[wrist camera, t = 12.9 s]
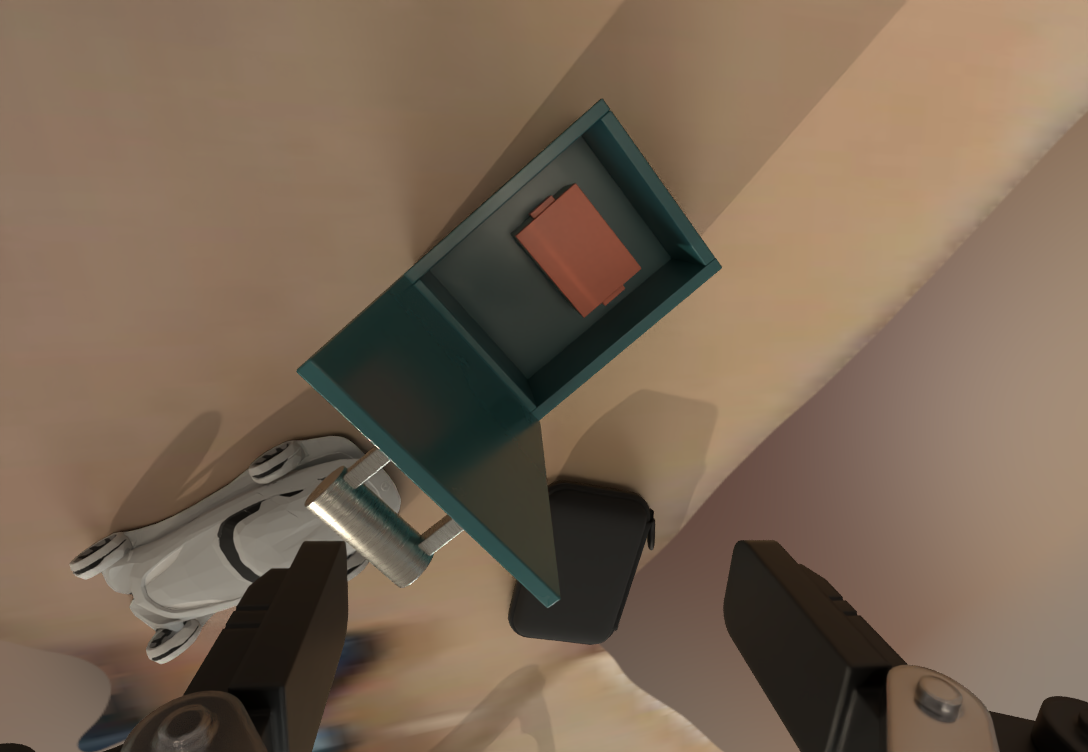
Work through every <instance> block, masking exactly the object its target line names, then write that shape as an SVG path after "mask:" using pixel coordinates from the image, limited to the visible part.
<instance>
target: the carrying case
mask: <svg viewBox="0 0 1088 752" xmlns="http://www.w3.org/2000/svg"><path fill="white" fill-rule="evenodd" d="M548 494H549V502H550V511H551V519H552V528H553V536H554V545H555V553H556V562H557V570H558V579H559V587H560V596H561V599H560V600H559V601H558V602H556V603H555V604H553V605H552V606H551V607H549V608H547V607H546V606H544V605H543V604H542V603H541V602H540V601H539V600H538V599H537V598H536V597H535V596H534V595H533V594H532V593H531V592H530V591H529V590H527V589H526V588H525V587H524V586H523V585H522V584H521V583H520V582H519V581H518V580H517V581H516V584H515V588H514V592H513V596H512V600H511V604H510V608H509V613H508V620H509V624H510V626H511V628H512V629H513V630H514V631H515V632H516V633H517V634H519V635H520V636H523V637H528V638H537V639H546V640H555V641H564V642H572V643H580V644H589V645H592V644H599V643H602V642H604V641H606V640H607V639H608V638H609V637H610V636H611V635H612V633H613V632H614V630H615V631H616V630H617V629H618V624H619V621H620V618H621V615H622V612H623V609H624V606H625V603H626V600H627V597H628V594H629V590H630V587H631V584H632V581H633V578H634V575H635V572H636V569H637V566H638V563H639V560H640V557H641V554H642V551H643V548H644V545H645V542H646V538H647V542H648V547H649V549H650V550H653V548H654V543H655V519H654V518H653V515H654V511H653V510H652V509H651V508H649V506H648V504H647V502H646V501H645V500H644V499H643V498H642V497H641V496H640V495H638V494H636V493H634V492H629V491H623V490H617V489H611V488H605V487H600V486H594V485H588V484H582V483H576V482H570V481H557V482H554V483H552V484H550V485H548ZM647 535H648V536H647Z"/></svg>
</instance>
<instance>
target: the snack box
mask: <svg viewBox="0 0 1088 752" xmlns="http://www.w3.org/2000/svg"><path fill="white" fill-rule="evenodd" d="M529 216H530V217H529V218H528V219H527V220H526V221H525V222H523V223H522V224H521V225H520V226H519V227H518V228H517V229H516V230H515V231H513V232H512V233H511V235H512V236H513V237H514V238H515V239H516V240H517V242H518V243H519V244H520V245H521V246H522V248H523V249H524V250H525V251H526V252H527V254H528V255H529V256H530V257H531V258H532V260H533V261H534V262H535V263H536V264H537V265H538V267H539V268H540V269H541V270H542V271H543V273H544V274H545V275H546V276H547V277H548V279H549V280H550V281H551V282H552V283H553V285H554V286H555V287H556V288H557V289H558V290H559V292H560V293H561V294H562V295H563V296H564V298H565V299H566V300H567V301H568V302H569V304H570V305H571V306H572V307H573V308H574V309H575V310H576V311H577V312H578V313H579V314H580V315H581V316H582V317H584V318H585V317H586V316H587V315H588V314H589V313H591V312H592V311H593V310H594V309H595V308H596V307H598V306H599V305H600V304H601V303H602V304H603V305H604V306H606V305H607V304H608V303H609V302H610V301H612V300H613V299H614V298H615V297H616V296H617V295H619V294H620V293H621V292H622V291H623V290H624V289H625V287H624V286H623V284H624V283H626V282H627V281H628V280H629V279H630V278H631V277H632V276H634V275H635V274H636V273H637V272H638V271H639V270H641V267H640V265H639V264H638V263H637V262H636V260H635V259H634V258H633V256H632V255H631V254H630V253H629V251H628V250H627V249H626V247H625V246H624V245H623V243H622V242H621V241H620V240H619V238H618V237H617V236H616V234H615V233H614V232H613V230H612V229H611V228H610V227H609V225H608V224H607V223H606V221H605V220H604V219H603V218H602V216H601V215H600V214H599V212H598V211H597V210H596V208H595V207H594V206H593V205H592V203H591V202H590V201H589V199H588V198H587V197H586V196H585V194H584V193H583V192H582V190H581V189H580V188H579V186H578V185H577V184H576V183H574V184H571V185H567V186H564V187H563V188H562V189H561V190H559V191H558V192H557V193H556V194H555V195H554V196H552V195H551V196H548V197H547V198H546V199H545V200H544V201H542V202H541V203H540V204H539V205H538V206H537V207H536V208H535V209H533V210H532V211H531V212H530V213H529Z"/></svg>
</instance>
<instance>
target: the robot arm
mask: <svg viewBox="0 0 1088 752" xmlns="http://www.w3.org/2000/svg"><path fill="white" fill-rule="evenodd" d="M723 609H724V610H723V611H724V619H725V624H726V628H727V630H728V633H729V634H730V637H731V638H732V640H733V642H734V643H735V645H736V646H737V648H738V650H739V651H740V653H741V655H742V656H743V658H744V660H745V661H746V663H747V664H748V666H749V668H750V669H751V671H752V673H753V674H754V676H755V678H756V679H757V681H758V682H759V684H760V686H761V687H762V689H763V691H764V692H765V694H766V695H767V697H768V699H769V701H770V702H771V704H772V705H773V707H774V709H775V710H776V712H777V714H778V715H779V717H780V719H781V720H782V722H783V724H784V725H785V727H786V728H787V730H788V732H789V733H790V735H791V736H792V738H793V740H794V742H795V743H796V745H797V746H798V748H799V750H800V751H801V752H1088V703H1087V702H1085V701H1082V700H1078V699H1075V698H1070V697H1062V696H1054V697H1049V698H1047V699H1045V700H1044V701H1043V703H1042V705H1041V708H1040V710H1039V713H1038V716H1037V718H1036V721H1033V720H1028V719H1024V718H1019V717H1014V716H1010V715H1005V714H1000V713H996V712H991V711H988V710H987V708H986V707H985V705H984V704H983V703H982V702H981V700H980V699H978V697H976V695H974V694H973V693H972V692H971V691H970V690H968V689H967V688H966V687H964V686H963V685H961V684H960V683H958V682H957V681H955V680H953V679H951V678H950V677H948V676H946V675H944V674H942V673H939V672H937V671H934V670H931V669H928V668H925V667H920V666H915V665H908V664H907V663H906V662H905V661H904V660H903V659H902V658H901V657H900V656H899V655H898V654H897V653H896V652H895V651H894V650H893V649H892V648H891V647H890V646H889V645H888V644H887V642H885V641H884V640H883V638H882V637H881V636H880V635H879V634H878V633H877V632H876V631H875V630H874V629H873V628H872V627H871V626H870V625H869V624H868V623H867V622H866V621H865V620H864V619H863V618H862V617H861V616H858V615H857V611H856V610H855V609H854V608H853V607H852V606H851V605H850V604H849V603H848V602H847V601H843V597H842V596H841V595H840V594H839V593H838V592H837V591H836V590H835V589H834V588H833V587H832V586H831V584H829V582H828V581H827V580H825V579H824V578H823V577H821V576H820V575H818V574H816V573H815V572H813V571H812V570H810V569H809V568H807V567H805V566H804V565H802V564H798V563H797V562H796V561H795V560H794V559H793V558H792V557H791V556H790V555H789V554H788V552H787V551H785V549H784V548H783V547H782V546H781V545H780V544H779V543H778V542H776V541H774V540H741V541H738V542H737V543H736V545H735V547H734V550H733V555H732V560H731V566H730V571H729V577H728V582H727V587H726V593H725V598H724V607H723ZM347 622H348V581H347V549H346V543H345V541H304V542H303V543H302V545H301V547H300V549H299V550H298V552H297V554H296V556H295V558H294V560H293V562H292V564H291V566H290V568H271V569H270V570H268V571H267V572H266V573H265V574H263V575H262V576H261V577H260V578H258V579H257V580H256V581H255V582H253V583H252V584H251V585H250V586H249V587H248V588H247V590H246V592H245V593H244V595H243V597H242V598H241V600H240V602H239V603H238V605H237V607H236V611H233V613H232V615H231V616H230V618H229V620H228V621H227V623H226V627H225V629H223V630H222V631H221V633H220V635H219V636H218V638H217V640H216V641H215V643H214V645H213V646H212V648H211V650H210V651H209V653H208V655H207V656H206V658H205V660H204V661H203V663H202V665H201V666H200V668H199V670H198V671H197V673H196V675H195V676H194V678H193V680H192V681H191V683H190V685H189V686H188V688H187V690H186V691H185V693H184V695H183V696H181V697H179V698H176V699H174V700H172V701H170V702H168V703H166V704H164V705H162V706H160V707H159V708H157V709H156V710H154V711H153V712H151V713H150V714H149V715H147V716H146V717H145V718H144V719H143V720H142V721H140V722H139V723H138V724H137V725H136V726H135V728H134V729H133V730H132V731H131V732H130V734H129V735H128V737H127V738H126V740H125V742H124V744H122V745H120V746H117V747H115V748H112V749H109V750H106V751H103V752H312V749H313V746H314V742H315V739H316V736H317V732H318V729H319V726H320V722H321V719H322V715H323V712H324V709H325V705H326V702H327V699H328V695H329V692H330V689H331V685H332V682H333V679H334V675H335V672H336V669H337V665H338V662H339V659H340V655H341V652H342V649H343V645H344V641H345V636H346V630H347ZM0 752H35V751H34V750H33V749H31V748H30V747H28V746H25V745H22V744H15V743H10V744H9V743H6V744H0Z"/></svg>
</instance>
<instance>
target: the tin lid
mask: <svg viewBox="0 0 1088 752" xmlns="http://www.w3.org/2000/svg"><path fill="white" fill-rule="evenodd" d="M297 373H298V374H299V375H300V376H301V377H302V378H303V379H304V380H305V381H306V382H308V383H309V384H310V385H311V386H312V387H313V388H314V389H315V390H316V391H317V392H318V393H319V394H320V395H321V396H322V397H323V398H325V399H326V400H327V401H328V402H329V403H330V404H331V405H332V406H333V407H334V408H335V409H336V410H337V411H338V412H339V413H340V414H342V415H343V416H344V417H345V418H346V419H347V420H348V421H349V422H350V423H351V424H352V425H353V426H354V427H355V428H356V429H357V430H359V431H360V432H361V433H362V434H363V435H364V436H365V437H366V438H367V439H368V440H369V441H370V442H371V443H372V444H373V445H374V446H375V447H373V448H372V449H371V450H370V451H369V452H367V453H366V454H365V455H364V456H363V457H361V458H360V459H359V460H358V461H356V462H355V463H354V464H353V465H352V466H350V467H349V468H348V469H347V468H346V467H345V466H341V467H339V468H337V469H336V470H334V471H333V472H332V473H331V474H330V475H328V476H327V477H326V478H325V479H324V480H323V481H322V482H321V483H320V484H319V485H318V486H317V487H316V488H315V489H314V491H313V492H312V493H311V494H310V495H309V497H308V498H307V500H306V501H305V504H304V506H305V507H306V508H307V509H308V510H309V511H311V512H312V513H313V514H314V515H315V516H316V517H318V518H319V519H320V520H321V521H322V522H323V523H325V524H326V525H327V526H328V527H329V528H330V529H332V530H333V531H334V532H335V533H336V534H337V535H339V536H340V537H341V538H342V539H343V540H344V541H346V542H347V543H348V544H349V545H350V546H351V547H353V548H354V549H355V550H356V551H357V552H358V553H360V554H361V555H362V556H363V557H364V558H365V559H367V560H368V561H369V562H370V563H371V564H372V565H374V566H375V567H376V568H377V569H378V570H379V571H381V572H382V573H383V574H384V575H385V576H386V577H388V578H389V579H390V580H391V581H392V582H393V583H395V584H396V585H397V586H398V587H400V588H403V587H406V586H408V585H410V584H411V583H413V582H414V581H415V580H416V579H417V578H418V577H419V576H420V575H421V574H422V573H423V572H424V571H425V569H426V568H427V566H428V565H429V563H430V562H431V560H432V558H433V555H434V552H436V551H437V550H438V549H440V548H441V547H442V546H444V545H445V544H446V543H448V542H449V541H450V540H452V539H453V538H454V537H455V536H457V535H458V534H459V533H461V532H462V531H463V530H465V531H466V532H467V533H468V534H469V535H470V536H471V537H472V538H473V539H474V540H475V541H476V542H478V543H479V544H480V545H481V546H482V547H483V548H484V549H485V550H486V551H487V552H488V553H489V554H490V555H491V556H492V557H493V558H495V559H496V560H497V561H498V562H499V563H500V564H501V565H502V566H503V567H504V568H505V569H506V570H507V571H508V572H509V573H510V574H512V575H513V576H514V577H515V578H516V579H517V580H518V581H519V582H520V583H521V584H522V585H523V586H524V587H525V588H526V589H527V590H529V591H530V592H531V593H532V594H533V595H534V596H535V597H536V598H537V599H538V600H539V601H540V602H541V603H542V604H543V605H544V606H546V607H547V608H549V607H551V606H552V605H553V604H555V603H556V602H558V601H559V600H560V599H561V596H560V587H559V579H558V570H557V562H556V553H555V545H554V536H553V528H552V519H551V511H550V502H549V494H548V485H547V477H546V468H545V460H544V451H543V442H542V434H541V425H540V422H539V421H538V420H537V418H536V417H535V416H534V415H533V414H532V413H531V412H530V411H529V410H528V409H527V408H526V407H525V405H524V404H523V403H522V402H521V401H520V400H519V399H518V398H517V397H516V396H515V395H514V394H513V392H512V391H511V390H510V389H509V388H508V387H507V386H506V385H505V384H504V383H503V382H502V381H501V379H500V378H499V377H498V376H497V375H496V374H495V373H494V372H493V371H492V370H491V369H490V368H489V366H488V365H487V364H486V363H485V362H484V361H483V360H482V359H481V358H480V357H479V356H478V354H477V353H476V352H475V351H474V350H473V349H472V348H471V347H470V346H469V345H468V344H467V343H466V341H465V340H464V339H463V338H462V337H461V336H460V335H459V334H458V333H457V332H456V331H455V330H454V328H453V327H452V326H451V325H450V324H449V323H448V322H447V321H446V320H445V319H444V318H443V317H442V315H441V314H440V313H439V312H438V311H437V310H436V309H435V308H434V307H433V306H432V305H431V304H430V302H429V301H428V300H427V299H426V298H425V297H424V296H423V295H422V294H421V293H420V292H419V291H418V289H417V288H416V287H415V286H414V285H413V284H412V283H411V282H410V281H409V280H408V279H407V278H406V276H405V275H402V276H401V277H400V278H399V279H398V280H397V281H395V282H394V283H393V284H392V285H391V286H390V287H389V288H388V289H386V290H385V291H384V292H383V293H382V294H381V295H380V296H379V297H377V298H376V299H375V300H374V301H373V302H372V303H371V304H370V305H369V306H367V307H366V308H365V309H364V310H363V311H362V312H361V313H360V314H358V315H357V316H356V317H355V318H354V319H353V320H352V321H351V322H349V323H348V324H347V325H346V326H345V327H344V328H343V329H342V330H340V331H339V332H338V333H337V334H336V335H335V336H334V337H333V338H331V339H330V340H329V341H328V342H327V343H326V344H325V345H324V346H323V347H321V348H320V349H319V350H318V351H317V352H316V353H315V354H314V355H312V356H311V357H310V358H309V359H308V360H307V361H306V362H305V363H303V364H302V365H301V366H300V367H299V368H298V369H297ZM390 461H391V462H393V463H394V464H395V465H396V466H397V467H398V468H399V469H400V470H401V471H402V472H403V473H404V474H405V475H406V476H407V477H408V478H410V479H411V480H412V481H413V482H414V483H415V484H416V485H417V486H418V487H419V488H420V489H421V490H422V491H423V492H424V493H425V494H427V495H428V496H429V497H430V498H431V499H432V500H433V501H434V502H435V503H436V504H437V505H438V506H439V507H440V508H441V509H442V510H444V511H445V512H446V513H447V515H446V516H445V517H443V518H442V519H441V520H440V521H438V522H437V523H436V524H434V525H433V526H432V527H431V528H429V529H428V530H427V531H425V532H424V533H423V534H422V535H420V534H419V533H418V532H417V531H416V530H415V529H414V528H412V527H411V526H410V525H409V524H408V523H407V522H406V521H405V520H404V519H403V518H401V517H400V516H399V515H398V514H397V513H396V512H395V511H394V510H393V509H392V508H390V507H389V506H388V505H387V504H386V503H385V502H384V501H383V500H382V499H381V498H379V497H378V496H377V495H376V494H375V493H374V492H373V491H372V490H371V489H370V488H368V487H367V486H366V485H365V484H364V482H366V481H367V480H368V479H369V478H370V477H372V476H373V475H374V474H375V473H377V472H378V471H379V470H380V469H381V468H383V467H384V466H385V465H386V464H388V463H389V462H390Z"/></svg>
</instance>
